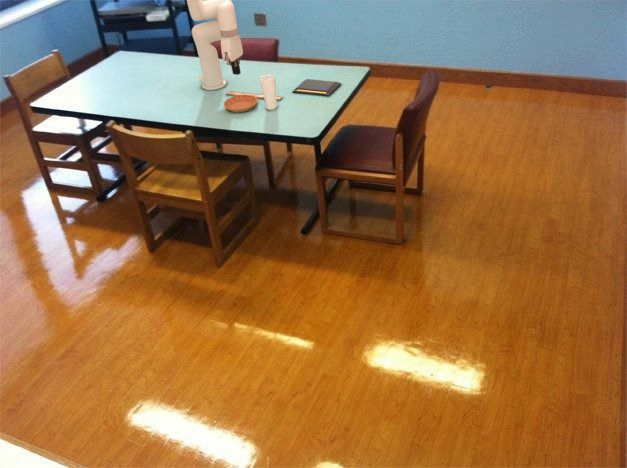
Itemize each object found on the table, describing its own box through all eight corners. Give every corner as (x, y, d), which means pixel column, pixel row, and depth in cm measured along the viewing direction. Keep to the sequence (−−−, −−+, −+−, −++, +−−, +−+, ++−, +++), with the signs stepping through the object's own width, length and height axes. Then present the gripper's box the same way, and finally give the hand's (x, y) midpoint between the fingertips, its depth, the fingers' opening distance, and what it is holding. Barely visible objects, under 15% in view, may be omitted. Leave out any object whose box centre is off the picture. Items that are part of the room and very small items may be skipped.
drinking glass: (276, 110, 277) (272, 80, 268) (262, 111, 279) (258, 80, 270) (280, 104, 283) (276, 74, 274) (266, 104, 284) (261, 74, 275)
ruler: (226, 94, 298) (226, 93, 297) (229, 92, 300) (229, 90, 300) (279, 100, 286) (279, 99, 286) (282, 98, 288) (282, 96, 288)
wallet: (341, 80, 293) (328, 93, 283) (342, 84, 295) (328, 97, 284) (305, 76, 302) (291, 88, 291) (306, 80, 303) (291, 92, 292)
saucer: (237, 98, 293) (236, 92, 292) (264, 102, 286) (263, 96, 285) (218, 111, 283) (217, 106, 281) (246, 116, 276) (244, 110, 274)
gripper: (231, 26, 261) (238, 66, 272) (212, 38, 251) (220, 79, 262) (246, 27, 258) (252, 68, 269) (227, 39, 248) (234, 81, 259)
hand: (236, 73), depth 266 cm, fingers closed
